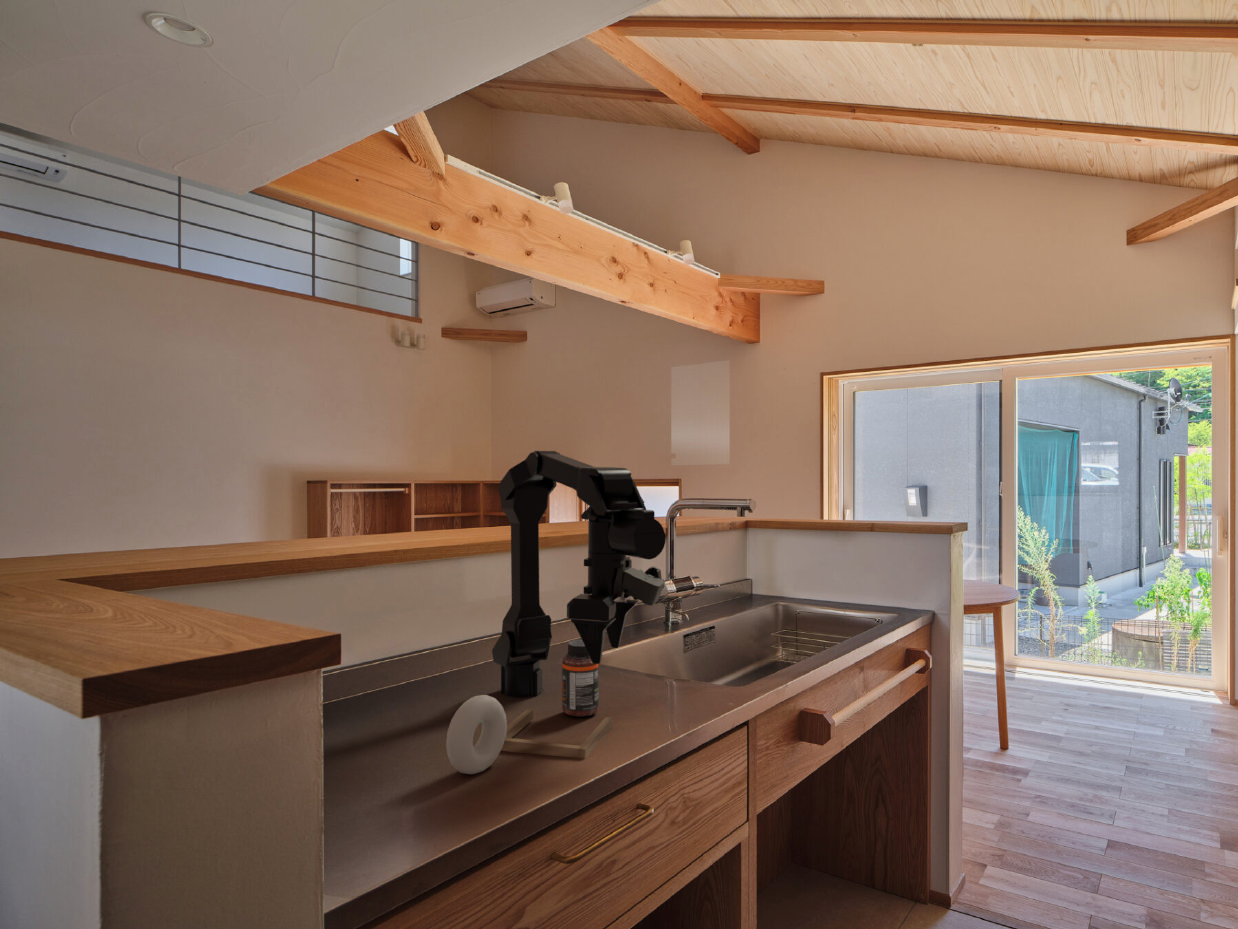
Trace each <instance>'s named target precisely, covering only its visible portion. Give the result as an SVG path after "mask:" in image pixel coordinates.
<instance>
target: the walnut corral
mask: <svg viewBox="0 0 1238 929" xmlns="http://www.w3.org/2000/svg"><path fill="white" fill-rule="evenodd" d="M533 720H534V709H531V708H527V709H526V710H525V711H522V713H521V714H520V715H518V716H517V717H516V718H515V719H514V720H512V721H511V722H510V723H509V724H507V730H506V738H505V741H504V744H503V747H502V749H501V751H502V752H503V751H504V752H511V753H523V754H532V755H542V756H551V757H552V756H555V757H563V758H564V757H565V758H576V759H586V758H587V757H589V755H590V754H591V753H592V752H593V751H594V749H595V748H596V747H597V746H598V745H599V744H600V742H601V741H602V740H603V739H604V738H605V737H606V735H607V734H608V733H609V732H610V731H611V730H612V728H613V717H611V716H610V717H608V716H606V717H604V719H602V721H601V722H600V723H599V724H598V726H597V727H596V728H595V729H594V730H593V731H592V733H590V734H589V736H588V737H587V738H586V739H585V740H584V742H583V743H582V744H581V745H576V744H575V745H574V744H566V743H560V742H559V743H558V742H548V741H541V740H531V739H523V738H522V739H521V738H514V737H515V736H516V735H517V734H518V733H519V732H521V731H522V730H523V729H524V728H525V727H526V726H527V725H528V724H529V723H531V722H532V721H533ZM501 751H500V752H501Z"/></svg>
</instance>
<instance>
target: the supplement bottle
mask: <svg viewBox="0 0 1238 929" xmlns="http://www.w3.org/2000/svg"><path fill="white" fill-rule="evenodd" d="M561 662H562V663H561V681H562V682H561V683H562V684H561V687H562V688H561V689H562V691H561V692H562V694H561V697H562V698H561V706H562V708H561V709H562V711H563V712H564V714H566V715H569V716H571V717H572V716H573V717H589V716H591V715H594V714H596V713H597V712H598V710H599V705H600V704H599V699H600V698H599V695H600V694H599V692H600V691H599V688H600V687H599V683H600V680H599V679H600V678H599V673H600V672H599V671H600V670H599V669H600V668H599V665H600V664H594V663H593V662H592V660H591V658H590V656H589V654H588V651H587V649H586V647H585V645H584V643H583V641H582V639H574V640H570V641H569V642H568V644H567V653H566V654H564V656H563V657H562V661H561Z"/></svg>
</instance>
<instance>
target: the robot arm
mask: <svg viewBox="0 0 1238 929" xmlns="http://www.w3.org/2000/svg"><path fill="white" fill-rule="evenodd" d="M557 483H559V484H561V485H562V486H565V487H568V488H570V489H573V490H574V491H576V496H577V498H578V499H580V501H582V502H583V503H584V504H586V505H587V506H588V507H587V508H586V510H584V511H583V512H582V513H581V515H580V518H581V519H582V520H587V521H588V522H587V523H588V528H587V530H588V531H587V534H588V535H587V536H588V537H587V539H588V540H587V544H588V545H587V557H586V558H584V559H583V567H587V585H585V586H583V593H581V594H578V595H576V596H574V597H573V598H572V599H571V600H570V601H568V603H567V604H566V618H568V619H570V622H571V623H572V624H574V627H575V629H576V630H577V633H578V634H579V637H580V639H581V640H582V641H583V643H584V645H585V647H586V649H587V651H588V654H589V656H590V658H591V660H592V662H593V663H594V664H599V665H600V664H601V663H602V658H603V652H604V645H605V638H606V634H607V638H608V640H609V643H610V647H611V648H613V649H618V648H619V647H620V644H621V640H622V637H623V631H624V627H625V625H626V620H627V616H628V614H629V612H630V611H631V610H632V609H633V608H634V607H635V606H636V605H637V604H638V603H639V601H641V602H642V604H644V605H646V606H650V607H652V606H654V605H655V603H658V601H659V599H660V596H661V593H662V591H663V589H664V588H665V579H664V578H662V572H661V569H660V568H657V567H656V566H654V565H653V566H650V567H649V568H648V569H646V570H645V571H644V570H643V569H636V568H633V566H632V563H633V562H632V559H630V557H634V558H639V559H644V560H652V559H656V558H657V557H659V555H661V553H662V552H663V549H664V548H665V546H666V542H667V541H666V539H667V535H666V533H665V530H664V528H663V525H662V524H661V523H660V521H658V520H657V519H655V515H656V514H655V511H654V510H651V509H647V508H646V506H645V501H644V499H643V498H642V496H641V494H640V491H639V489H638V487H637V485H636V483H635V480H634V478H633V477H632V473H631V471H630V470H629V469H627V468H626V467H618V466H617V467H615V466H614V467H613V466H608V467H607V466H593V465H592V464H591V465H590V464H588V463H585V462H582V461H579V460H577V459H574V458H571V457H569V456H567V455H566V456H565V455H563V454H561V453H560V452H557V451H556V450H534V451H531V452H530V453H529V454H528V455H527V456H526V458H525V459H524V460H522V461H521V462H519V463H517V464H516V465H514V466H512V467H511V468H510V469H508V471H507V472H506V473H505V475H504V476H503V477H502V478H501V480H500V482H499V486H498V494H499V497H500V504H501V510H502V512H503V513H504V514H505V516H506V518H507V519H508V521H509V523H510V558H511V559H510V560H511V561H510V562H511V563H510V566H511V567H510V569H511V570H510V571H511V572H510V575H511V582H510V583H511V585H510V586H511V604H510V607H509V608H508V611H507V612H506V614H505V616H504V618H503V619H502V626H501V635H500V636H499V637H498V639H497V640H496V642H495V644H494V645H493V647H492V649H491V652H492V653H491V654H492V660H493V663H495V664H498V665H500V694H502V695H505V696H506V697H512V698H527V697H531V698H532V697H537V696H538V695H539V694H540V693H542V692H544V688H543V668H541V667H540V664H541V662H540V661H546V660H548V656H549V652H550V647H551V641H552V638H553V636H552V629H551V628H552V618H551V616H550V614H546V613H545V611H544V609H543V608H542V606H541V603H540V599H541V598H540V536H539V535H540V531H539V530H540V528H539V527H540V526H539V525H540V521H541V520H542V518H543V516H544V515H545V513H546V511H547V509H548V506H549V505H548V504H549V503H548V502H549V495H551V493H552V492H553V491H554V489H555V488H556V487H557ZM631 598H633V599H631Z"/></svg>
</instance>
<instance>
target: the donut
mask: <svg viewBox="0 0 1238 929" xmlns="http://www.w3.org/2000/svg"><path fill="white" fill-rule="evenodd" d="M507 723H508V722H507V714H506V712H505V709H504V707H503V705H502V704H501V703H500V702H499V700H497V698H495V697H493V696H490V695H487V694H480V695H475V696H472V697H471V698H469V699H468V700H466V701H464V702H463V703H462V704H461V706H460V707H459V708H458V709H457V710H456V712H455V713H454V715H453V717H452V718H451V721H450V723H449V726H448V729H447V731H446V732H447V734H446V740H445V741H446V742H445V746H446V754H447V757H448V760H449V763H450V764H451V766H452V767H454V768H455V769H456V771H458V772H460V773H461V774H466V775H470V776H471V775H476V774H478V773H482V772H483V771H485V770H487V769H489V767H490V766H492V764H493V763H494V762H495V761H496V759H497V758H498V757H499V755H500V753H501V749H502V747H503V744H504V741H505V738H506V730H507V726H508V724H507ZM480 724H481V732H480V736H479V738H478V741H477V742H476V743H475V745H474V744H473V743H474V742H473V741H474V735H475V733H476V729H477V728H478V726H479V725H480Z"/></svg>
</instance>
